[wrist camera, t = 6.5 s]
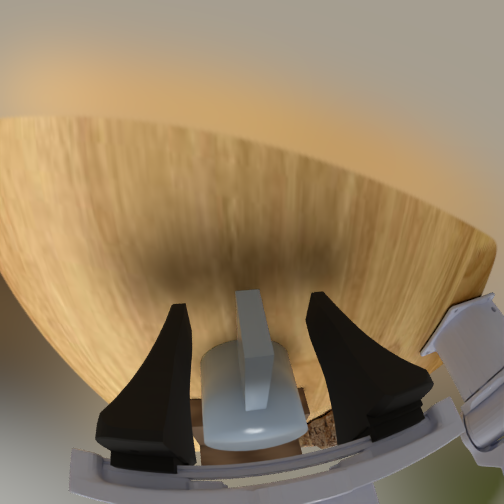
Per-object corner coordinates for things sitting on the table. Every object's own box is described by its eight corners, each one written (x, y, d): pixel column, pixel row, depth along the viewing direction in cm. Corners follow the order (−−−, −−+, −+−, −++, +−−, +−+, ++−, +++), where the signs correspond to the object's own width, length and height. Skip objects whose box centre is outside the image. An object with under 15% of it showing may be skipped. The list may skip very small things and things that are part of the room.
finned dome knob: (305, 266, 15) (348, 362, 10) (283, 379, 23) (299, 442, 17) (179, 275, 14) (171, 383, 9) (205, 386, 22) (210, 453, 16)
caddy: (303, 387, 24) (319, 449, 19) (290, 418, 30) (302, 465, 24) (186, 399, 23) (189, 465, 17) (200, 427, 28) (204, 476, 23)
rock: (363, 384, 28) (378, 424, 23) (399, 387, 32) (413, 417, 27) (285, 431, 34) (293, 464, 29) (329, 430, 38) (337, 457, 34)
